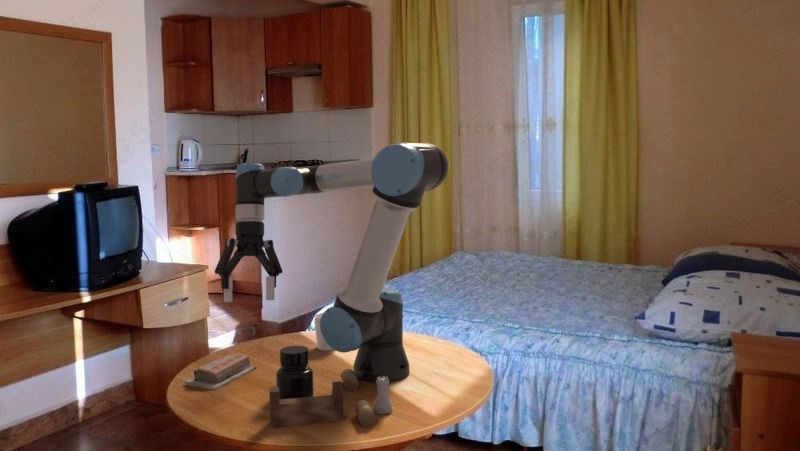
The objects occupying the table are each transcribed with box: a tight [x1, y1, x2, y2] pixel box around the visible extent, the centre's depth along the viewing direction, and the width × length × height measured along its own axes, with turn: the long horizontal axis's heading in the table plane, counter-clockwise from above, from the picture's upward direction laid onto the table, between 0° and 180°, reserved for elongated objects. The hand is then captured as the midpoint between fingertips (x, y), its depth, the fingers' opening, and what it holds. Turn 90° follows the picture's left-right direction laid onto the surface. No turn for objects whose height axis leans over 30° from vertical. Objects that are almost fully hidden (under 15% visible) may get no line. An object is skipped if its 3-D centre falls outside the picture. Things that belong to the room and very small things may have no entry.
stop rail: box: [268, 380, 345, 428], centre depth 151 cm, size 16×3×8 cm, turn 103°
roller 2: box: [354, 399, 377, 428], centre depth 151 cm, size 7×4×4 cm, turn 13°
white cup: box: [314, 312, 335, 352], centre depth 206 cm, size 8×8×10 cm
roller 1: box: [340, 368, 360, 392], centre depth 173 cm, size 7×4×4 cm, turn 13°
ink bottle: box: [275, 345, 315, 400], centre depth 165 cm, size 10×9×12 cm
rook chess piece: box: [372, 376, 393, 415], centre depth 156 cm, size 4×4×8 cm
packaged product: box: [184, 352, 257, 391], centre depth 181 cm, size 18×5×10 cm
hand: (249, 301), depth 180 cm, fingers open, 13 cm apart
